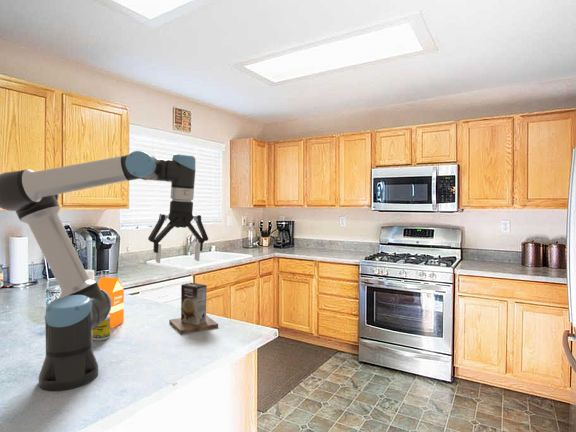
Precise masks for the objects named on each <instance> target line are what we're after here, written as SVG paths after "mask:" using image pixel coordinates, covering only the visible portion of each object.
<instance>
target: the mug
mask: <svg viewBox="0 0 576 432" xmlns="http://www.w3.org/2000/svg"><path fill="white" fill-rule="evenodd" d="M85 271H86V273H87V275H88V277H89V279H91V280H94V281H95V270H94V269H85Z"/></svg>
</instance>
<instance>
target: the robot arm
mask: <svg viewBox="0 0 576 432" xmlns="http://www.w3.org/2000/svg"><path fill="white" fill-rule="evenodd" d="M139 179H140V180H144V181H157V182H158V181H159V182H171V185H170V197H169V198H170V201H169V202H170V203H169V213H168V214H166V213H165V214H164V213H160V214H159V217H158V220H157V222H156V224H155V225H154V228H153V229H152V231H151V233H150V234H149V236H148V237H147V240H148V241H149V242H151V243H153V253H154V254H155V262H156V263H157V264H160V263H161V257H162V255H161V254H162V253H161V252H162V251H161V250H162V243H161V242H162V240H163V239H164V238H165V237H166V236H167V235H168V234H169V232H170V231H172V229H174V228H177V229H178V228H185V229H186V228H188V230H189V231H190V232H191V233H192V235H193V236H194V237H195V239H196V240H197V241H195V247H194V248H195V249H194V260H195V261H197V262H200V255H201V252H202V251H203V246H204V243H205V242H207V241H209V237H208V235H207V232H206V229H205V226H204V224H203V222H202V215H200V214H199V213H198V214H197V213H196V214H195V215H194V214H193V210H194V209H193V208H194V202H193V201H194V197H195V196H194V193H195V181H196V157H195V156H193V155H187V154H179V153H174V154H173V155H172V158H170V159H166V158H158V157H155V156H153V155H152V154H151V153H150V152H147V151H143V150H134V151H132V152H130V153H129V154H126V155H125V154H124V155H119V156H115V157H109V158H104V159H99V160H98V159H97V160H93V161H86V162H81V163H76V164H75V163H74V164H70V165H65V166H59V167H53V168H47V169H42V170H37V171H36V170H35V171H34V170H32V169H21V170H16V171H6V172H3V173H0V208H1V209H2V210H5V211H9V212H10V211H11V212H15V213H16V215H17V218H18V219H19V221H20V222H21V223H25V224H27V225H28V226H29V228H30V230H31V232H32V234H33V237H34V238H35V240H36V243H37V245H38V246H39V249H40V250H41V253H42V255H43V256H44V259H45V261H46V262H47V264H48V267H49V269H50V270H51V273H52V275H53V277H54V279H55V280H56V282H57V285H58V286H59V288H60V292H61V293H60V294H59V296H58V298H56V299H54V300H52V301H50V302H49V303H48V304H47V306H46V308H45V315H44V321H45V322H44V323H45V329H44V330H45V357H44V360H43V363H42V366H41V369H40V371H39V375H38V387H39V388H40V389H42V390H45V391H50V392H51V391H65V390H71V389H74V388H77V387H80V386H83V385H86V384H89V383H90V382H91V381H93V380H94V379H96V377H97V376H98V375H99V364H98V362H97V359H96V357H95V353H94V352H93V349H92V346H93V345H92V340H93V339H92V330H93V329H94V328H95V327H96V326H97V325H98V324H100V323H102V322H103V321H104V320H105V319H106V317H107V316H108V314H109V313H110V310H111V306H112V303H111V298H110V296H109V295H108V293H107V292H105V291H104V290H101V289H100V288H99V286H98V282H97V281H96V280H95V279H94V280H91V279H89V277H88V275H87V273H86V271H85V270H86V269H85V268H84V265H83V263H82V261H81V259H80V257H79V255H78V253H77V251H76V248H75V247H74V245H73V242H72V241H71V239H70V237H69V234H68V233H67V231H66V228H65V225H64V224H63V223H62V220H61V218H60V217H59V212H60V209H61V206H60V204H59V202H58V200H59V195H62V194H66V193H67V194H68V193H70V192H77V191H82V190H83V191H84V190H87V189H92V188H97V187H103V186H108V185H112V184H118V183H119V184H120V183H123V182H127V181H129V182H130V181H134V180H135V181H136V180H139ZM167 219H168V220H169V222H168V223H167V224H166V225H165V227H163V225H164V223H165V221H166V222H167ZM193 220H194V222H195V223H196V226H197V228H198V231H197V230H196V229H195V227H194V225H193V224H192V223H191V222H192V221H193ZM162 227H163V229H162V230H161V228H162ZM160 230H161V231H160ZM198 232H200V233H198Z"/></svg>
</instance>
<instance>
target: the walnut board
mask: <svg viewBox="0 0 576 432" xmlns="http://www.w3.org/2000/svg"><path fill="white" fill-rule="evenodd" d="M168 323H169V325H171V326H172V328H174V329H175V331H177V332H178V334H180V335H184V334H190V333H195V332H200V331H206V330H212V329H215V328H219V323H218V322H217V321H215V320H213V319H212V318H211V317H210V316H208V315H207V314H206V322H204V323H201V324H199V325H192V324H188V323H184V322H181V317H179V318H173V319H169V321H168Z"/></svg>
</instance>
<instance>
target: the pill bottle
mask: <svg viewBox="0 0 576 432" xmlns="http://www.w3.org/2000/svg"><path fill="white" fill-rule="evenodd" d="M110 337H111V327H110V315H109V314H108V316H107V317H106V319H105V320H104V321H103V322H102V323H100V324H98V325H97V326H96V327H95V328H94V329H93V330H92V340H93V341H105V340H107V339H109V338H110Z"/></svg>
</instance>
